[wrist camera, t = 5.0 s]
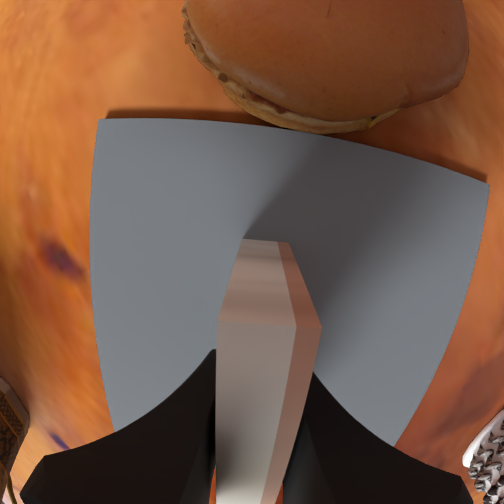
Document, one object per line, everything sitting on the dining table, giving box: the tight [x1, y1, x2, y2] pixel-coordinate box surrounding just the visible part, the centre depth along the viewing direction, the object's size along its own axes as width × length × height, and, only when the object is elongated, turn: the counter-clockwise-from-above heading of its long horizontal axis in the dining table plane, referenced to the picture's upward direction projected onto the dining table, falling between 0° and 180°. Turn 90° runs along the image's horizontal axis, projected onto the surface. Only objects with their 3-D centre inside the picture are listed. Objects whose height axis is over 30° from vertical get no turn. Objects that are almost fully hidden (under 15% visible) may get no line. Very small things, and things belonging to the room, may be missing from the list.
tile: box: [215, 239, 322, 504], centre depth 8 cm, size 9×2×6 cm, turn 175°
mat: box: [90, 118, 490, 447], centre depth 11 cm, size 16×16×1 cm
